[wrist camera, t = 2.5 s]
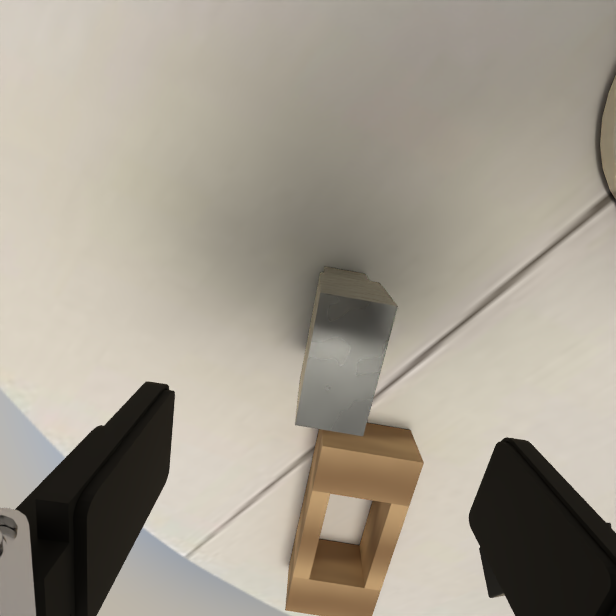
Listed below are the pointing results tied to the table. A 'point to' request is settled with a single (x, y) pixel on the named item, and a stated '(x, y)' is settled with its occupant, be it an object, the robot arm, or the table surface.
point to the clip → (344, 352)
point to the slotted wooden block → (378, 530)
